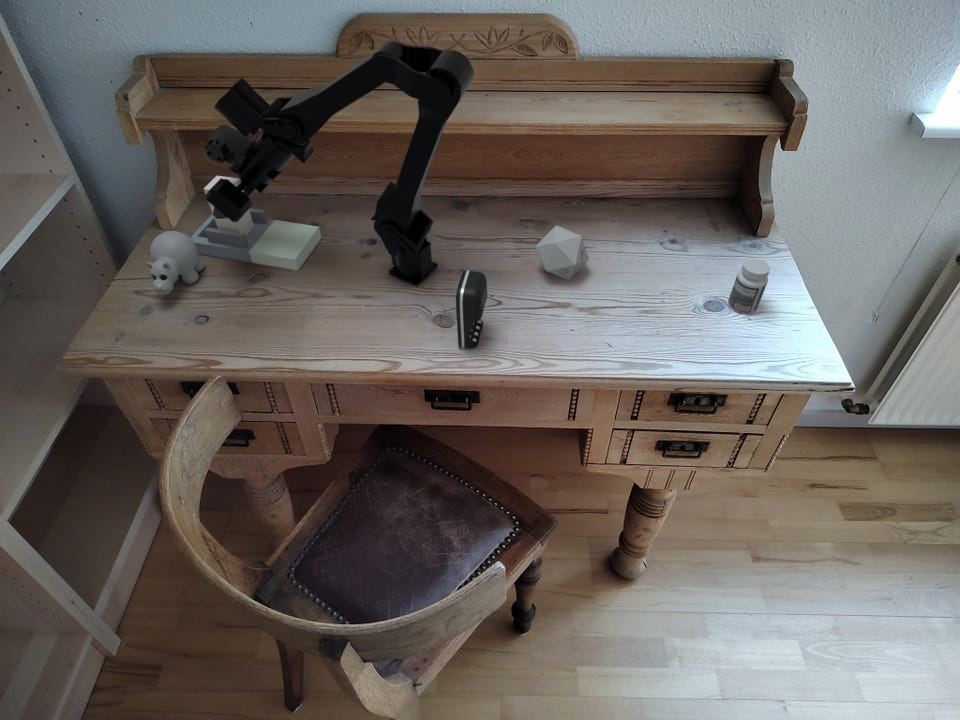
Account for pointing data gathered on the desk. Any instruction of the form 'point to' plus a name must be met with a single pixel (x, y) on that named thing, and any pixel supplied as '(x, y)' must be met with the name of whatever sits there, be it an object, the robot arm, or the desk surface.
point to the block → (226, 224)
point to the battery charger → (470, 307)
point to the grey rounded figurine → (173, 261)
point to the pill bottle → (749, 286)
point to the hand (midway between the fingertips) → (228, 202)
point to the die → (562, 252)
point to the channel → (260, 241)
